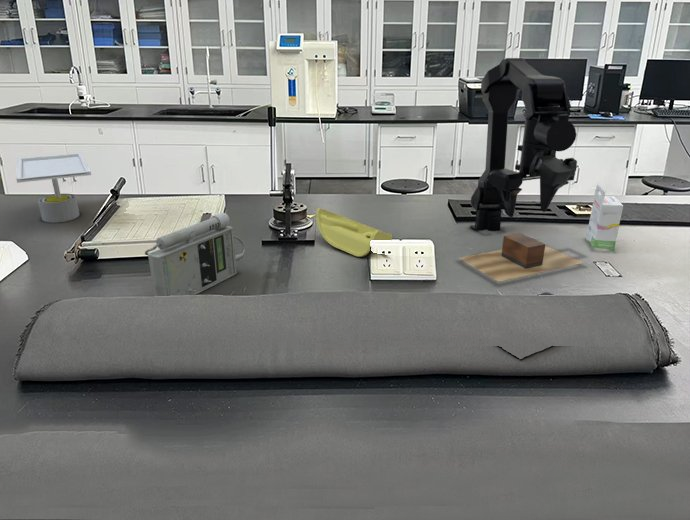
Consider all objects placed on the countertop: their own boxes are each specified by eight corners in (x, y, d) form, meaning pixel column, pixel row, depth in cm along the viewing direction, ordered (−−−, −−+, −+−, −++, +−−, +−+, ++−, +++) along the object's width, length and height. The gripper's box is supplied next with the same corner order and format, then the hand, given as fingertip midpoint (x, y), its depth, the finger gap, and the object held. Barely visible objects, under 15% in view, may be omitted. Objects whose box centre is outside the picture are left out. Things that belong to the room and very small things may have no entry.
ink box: (614, 252, 127) (627, 192, 121) (592, 251, 128) (604, 191, 122) (606, 240, 135) (617, 183, 129) (585, 239, 136) (595, 182, 130)
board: (457, 261, 122) (458, 257, 121) (538, 246, 131) (539, 242, 131) (497, 285, 110) (498, 281, 110) (583, 266, 119) (584, 262, 119)
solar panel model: (100, 225, 145) (90, 171, 139) (28, 235, 137) (15, 179, 132) (91, 200, 167) (82, 152, 162) (29, 207, 160) (17, 158, 154)
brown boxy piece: (501, 256, 122) (503, 235, 121) (517, 252, 124) (520, 232, 122) (525, 268, 116) (528, 247, 114) (542, 265, 118) (545, 244, 116)
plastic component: (396, 236, 130) (374, 229, 122) (385, 265, 131) (363, 259, 123) (337, 214, 142) (313, 206, 134) (327, 240, 142) (304, 233, 134)
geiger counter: (159, 242, 94) (252, 207, 114) (135, 235, 97) (230, 202, 117) (168, 311, 100) (256, 266, 119) (146, 303, 103) (235, 260, 122)
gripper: (529, 152, 100) (519, 231, 106) (601, 145, 107) (588, 219, 113) (491, 142, 109) (483, 215, 115) (560, 136, 116) (549, 205, 122)
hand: (527, 213), depth 116 cm, fingers open, 9 cm apart
